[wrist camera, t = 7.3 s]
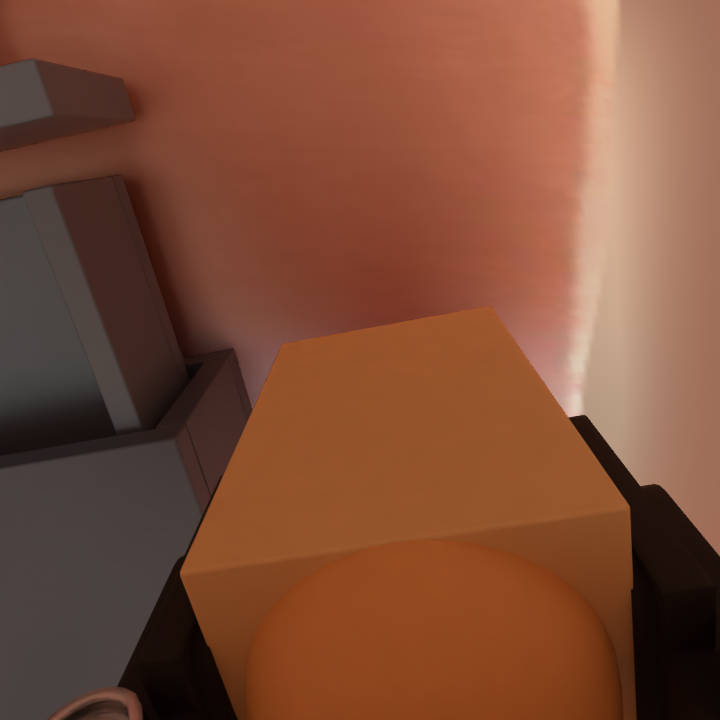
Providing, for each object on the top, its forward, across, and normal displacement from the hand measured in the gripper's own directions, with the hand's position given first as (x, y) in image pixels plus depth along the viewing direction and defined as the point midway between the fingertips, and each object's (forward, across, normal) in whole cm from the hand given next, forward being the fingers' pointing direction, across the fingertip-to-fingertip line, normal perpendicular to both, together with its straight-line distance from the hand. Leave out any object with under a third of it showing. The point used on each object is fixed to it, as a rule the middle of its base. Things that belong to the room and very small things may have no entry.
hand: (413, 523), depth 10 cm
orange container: (+4, 0, 0) cm, 4 cm away
